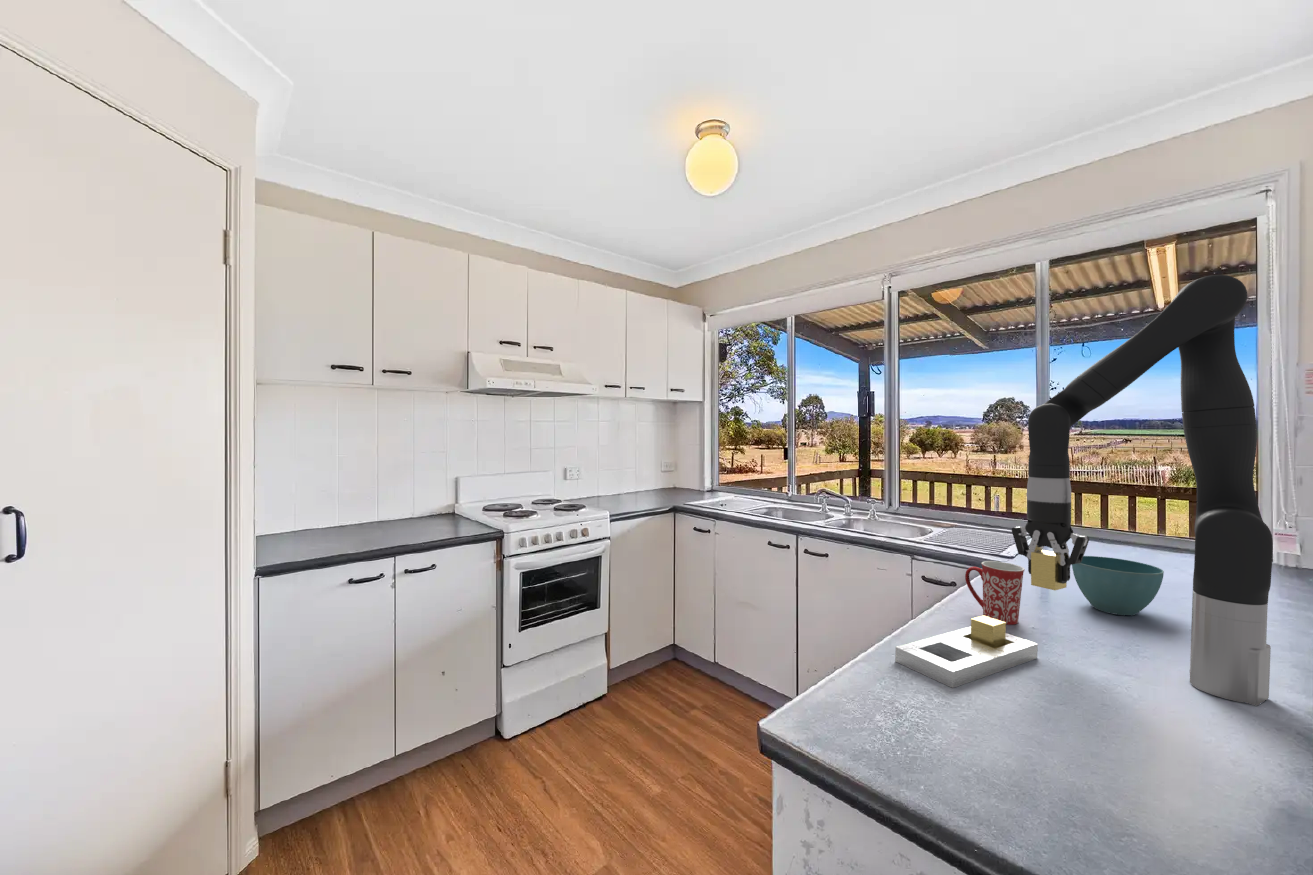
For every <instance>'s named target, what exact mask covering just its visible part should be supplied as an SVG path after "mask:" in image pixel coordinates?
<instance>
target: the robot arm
mask: <svg viewBox="0 0 1313 875" xmlns="http://www.w3.org/2000/svg"><path fill="white" fill-rule="evenodd" d="M1247 300H1248V290H1247V287H1246V286H1245V284H1244V283H1243V281H1241V280H1240V279H1238V278H1236V277H1234V276H1230V275H1228V274H1210V275H1205V276H1203V277H1200V278H1197V279H1195V280H1193V281H1191V282H1189V283H1187V284H1186V285H1185V286H1184V287H1182V288H1181V289H1180V290H1179V291H1178V292H1177V294H1176V295H1175V296H1174V297H1173V299H1172V301H1171V302H1169V304H1168V305H1167V306H1166V307H1165V308H1164V309H1163V310H1162V311H1161V312H1160V313H1159V314H1158V315H1157V316H1156V317H1154V319H1153V320H1150V322H1149V323H1147V325H1145V326H1144V327H1143V328H1141V329H1140V330H1139V331H1138V332H1137V333H1135V334H1134V335H1133V336H1132V337H1130V338H1129V339H1127V340H1125V342H1123V343H1122V344H1121V345H1119V346H1118V347H1116V348H1114V349H1113V350H1111V351H1110V352H1109V353H1107V354H1106V355H1105V356H1103V357H1102V358H1101V359H1099V360H1097V361H1096V362H1095V363H1093V364H1092V365H1091V366H1090V367H1088V368H1087V369H1086V370H1084V371H1083V372H1081V373H1080V374H1079V375H1078V376H1076V377H1075V378H1074V379H1073V380H1071V381H1070V382H1069V384H1067V386H1066V387H1065V388H1064V389H1063V390H1061V391H1059V392H1058V393H1057V394H1055V395H1054V396H1053V397H1051V398H1050V399H1048V400H1047V401H1045V402H1044V403H1043V404H1040V405H1038V406H1035V408H1033V409H1032V410H1031V412H1030V413H1029V415H1028V417H1027V418H1028V420H1027V430H1028V443H1029V453H1028V454H1029V455H1028V465H1027V466H1028V468H1027V470H1028V473H1027V474H1028V479H1027V485H1026V493H1025V494H1026V519H1027V522H1026V524H1025V525H1024V526H1015V527H1012V528H1011V533H1012V536H1013V540H1014V543H1015V547H1016V551H1017V554H1018V555H1020V556H1024V557H1025V558H1027V560H1028V561H1027V562H1028V563H1027V564H1028V565H1027V566H1028V567H1027V569H1028V570H1027V572H1028V574H1030V575H1031V552H1036V551H1041V550H1044V547H1047V548H1049V549H1052V552H1054V554H1056V556H1058V562H1059V564H1060V565H1058V582H1059V583H1062V584H1063V583H1066V582H1069V581H1070V579H1071V567H1072V564H1077V563H1081V562H1082V559H1083V556H1085V553H1086V550H1087V548H1088V545H1089V542H1090V537H1089V536H1088V535H1081V534H1079V533H1075V532H1074V531H1073V529H1072V526H1071V524H1072V485H1071V478H1070V476H1071V470H1070V469H1071V462H1070V460H1071V459H1070V454H1069V446H1070V432H1071V431H1070V430H1071V427H1072V426H1074V425H1075V424H1076V423H1078V422H1079V421H1080V420H1082V418H1084V417H1085V416H1086V415H1088V414H1089V413H1090V412H1092V411H1093V410H1095V409H1097V408H1099V407H1101V406H1102V405H1104V404H1105V403H1107V402H1108V401H1110V400H1111V399H1112V398H1114V397H1115V396H1118V394H1119V393H1121V392H1122V391H1124V389H1126V388H1127V387H1128V386H1130V385H1132V384H1133V383H1134V382H1135V381H1136V380H1138V379H1139V378H1140V377H1141V376H1142V375H1144V374H1146V372H1148V371H1149V370H1150V369H1151V368H1152V367H1154V366H1155V365H1156V364H1158V363H1159V362H1160V361H1161V360H1162V359H1164V358H1166V356H1168V355H1169V354H1171V353H1172V352H1174V351H1175V350H1176V349H1178V352H1179V357H1180V400H1181V401H1180V406H1181V417H1182V418H1181V419H1182V425H1183V426H1182V427H1183V433H1184V441H1185V444H1186V448H1187V454H1188V456H1189V461H1190V462H1191V463H1190V464H1191V466H1192V469H1193V473H1194V477H1195V483H1196V512H1195V520H1194V521H1195V522H1194V528H1193V529H1194V564H1193V565H1194V566H1193V575H1192V576H1193V577H1192V598H1191V599H1192V603H1191V631H1190V634H1191V635H1190V657H1189V658H1190V659H1189V661H1190V662H1189V683H1190V684H1191V685H1192V686H1193V687H1194V688H1196V689H1198V690H1199V691H1202V692H1204V693H1206V694H1209V695H1212V696H1216V697H1218V698H1222V699H1225V700H1230V701H1234V702H1238V703H1244V702H1246V704H1248V703H1249V705H1253V706H1255V707H1258V706H1259V704H1260V703H1261V704H1263V703H1264V702H1266V701H1267V700H1269V699H1270V679H1271V677H1270V676H1271V675H1270V674H1271V652H1272V651H1271V649H1272V646H1271V645H1270V644H1269V643H1267V640H1268V639H1267V638H1268V637H1267V633H1268V630H1267V629H1268V609H1269V608H1268V607H1269V605H1268V604H1269V594H1270V589H1271V586H1272V585H1271V584H1272V570H1273V555H1274V554H1273V552H1274V551H1273V550H1274V543H1273V542H1274V541H1273V535H1272V531H1271V529H1270V527H1269V526H1268V525H1267V524H1266V523H1265V522H1264V520H1263V518H1262V515H1261V511H1260V508H1259V503H1258V500H1257V499H1258V498H1257V495H1256V492H1255V486H1254V485H1255V483H1254V469H1255V463H1256V455H1257V446H1258V444H1257V443H1258V427H1257V417H1256V408H1255V401H1254V396H1253V392H1252V390H1251V387H1250V385H1249V382H1248V379H1247V378H1246V375H1245V373H1244V371H1243V369H1242V367H1241V365H1240V362H1239V360H1238V357H1237V353H1236V345H1235V344H1236V343H1235V342H1236V341H1235V325H1236V324H1235V322H1236V317H1237V316H1238V315H1240V313H1241V312H1242V311H1243V309H1244V308H1245V306H1246V303H1247ZM1027 535H1029V537H1030V538H1031V540H1030V543H1029V542H1028V539H1027V537H1026V536H1027ZM1070 539H1071V540H1072V541H1071V543H1072V545H1073V547H1072V550H1071V554H1069V553H1070V550H1069V549H1070V548H1069V547H1068V543H1067V542H1068V541H1070ZM1268 698H1269V699H1268ZM1265 700H1266V701H1265ZM1262 702H1263V703H1262ZM1261 704H1260V705H1261Z"/></svg>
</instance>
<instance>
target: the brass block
mask: <svg viewBox="0 0 1313 875" xmlns="http://www.w3.org/2000/svg"><path fill="white" fill-rule="evenodd" d="M1058 565H1060V564H1059V562H1058V556H1056V554H1054V551H1053V550H1052V551H1051V550H1045V549H1042V550H1041V551H1036V552H1031V574H1030V585H1031V586H1033V587H1039V588H1042V589H1047V590H1051V591H1052V590H1053V591H1058V590H1063V589H1066V588H1067V582H1068V581H1067V582H1066V583H1063V584H1062V583H1059V582H1058Z"/></svg>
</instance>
